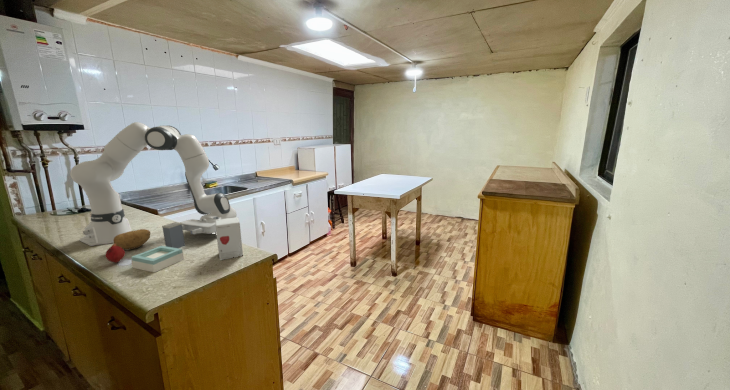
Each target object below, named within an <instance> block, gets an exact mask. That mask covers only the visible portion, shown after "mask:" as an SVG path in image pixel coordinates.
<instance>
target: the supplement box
mask: <svg viewBox="0 0 730 390" xmlns="http://www.w3.org/2000/svg"><path fill="white" fill-rule="evenodd" d="M215 233H216V241H217V250H218V256H219V260H220V261H223V260H228V259H234V258H239V257H238V256H240V257H243V256H244V251H243V243H242V240H243V239H242V234H241V233H242V231H241V223H240V220H239V217H238V216H236V218H227V219H220V220H216V232H215ZM242 255H243V256H242ZM233 257H234V258H233Z"/></svg>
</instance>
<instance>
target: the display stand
mask: <svg viewBox="0 0 730 390" xmlns="http://www.w3.org/2000/svg"><path fill="white" fill-rule="evenodd" d="M183 260H185V259H184V252H183V249H182V248H172V247H166V245H159V246H157V247H154V248H151V249H148V250H145V251H143V252H141V253H138V254H135V255H132V256H131V266H132V268H133V269H137V270H143V271H146V272H150V273H156V272H159V271H161V270H163V269H165V268H167V267H170V266H172V265H175V264H177V263H179V262H180V261H183Z"/></svg>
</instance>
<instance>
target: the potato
mask: <svg viewBox="0 0 730 390" xmlns="http://www.w3.org/2000/svg"><path fill="white" fill-rule="evenodd" d="M150 238H151V231H150V230H149V229H145V228H140V229H136V230H135V229H134V230H131V231H129V232H126V233H122V234H119V235H117V236H116V237H115V238H114V240H113V241H114V243H113V244H116V246H119V247H121V248H123V249H124V250H136V249H137V248H140V247H142V246H143V245H145V244H146V243H147V242H148V240H150Z"/></svg>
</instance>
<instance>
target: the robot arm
mask: <svg viewBox="0 0 730 390" xmlns="http://www.w3.org/2000/svg"><path fill="white" fill-rule="evenodd" d="M147 146H148V147H150V148H152V149H153V150H158V151H173V150H175V152H177V153H178V155H179V158H180V159H181V160H182V161H181V162H183V166H184V169H185V172H184V175H185V176H184V177H185V179H186V183H187V185H188V188H189V191H190V193H191V196H192V200H193V206H194V209H195V211H197V213H199V214H200V215H202V216H200V218H199V219H195V218H192V219H186V220H182V221H179V223H182V229H183V231H187V232H190V234H191V235H197V234H214V233H216V220H220V219H227V218H236V217H238V216H237V211H236V209H235V208H234V207H232V206H231V205H230V201H229V198H228V196H227V195H226V194H224V193H222V192H217V193H212V194H206V193H205V189H204V187H203V184H202V181H201V178H202V175H204V173H205V172H206V171H207V170H208V169H209V167H210V160H209V157H208V155H207V153H206V151H205V150H204V146H203V145H202V144H201V143H200V141H199V140H198V138H197V137H196V136H195V135H193V134H190V133H188V134H182V133H181V132H180V130H179V129H178V128H176V127H175V126H172V125H158V126H153V127H149V126H148V125H147V124H144V123H143V122H140V121H139V122H138V121H137V122H136V121H135V122H132V123H130V124H129V125H127V126H126V127H124V128H123V129H122V130H121V131H119V132H118V133H117V134H116V135H115V136H114V137H113V138H111V139H110V140H109V141H108V143H106V144H105V145H104V148H103V152H102V153H101V155H100V156H99V157H97V158H96V159H93V160H87V161H82V162H80V163H77V164H76V165H74V166H73V167H71V170H70V173H69V175H70V178H71V179H72V181H73V182H74V183H76V184H77V185H79V186H80V187H81V188H82V190H83V191H84V192H85V194H86V197H87V198H88V203H89V206H90V210H91V213H89V216H90V222H89V223H88V224H87V225H86V227H85V228H84V230H82V234H83V236H82V237H80V238H79V241H80V242H81V243H83V244H86V245H88V246H89V247H90V246H91V247H93V246H98V245H99V246H100V245H108V244H114V241H113V240H114V238H115V237H116V236H117V235H119V234H122V233H126V232H129V231H132V228H131V224H130V221H129V219H128V218H127V217H125V216H126V213H125V211H124V210H125V209H123V206H122V201H121V196H120V193H119V192H118V191H116V190H115V189H114V187H113V186H112V183H111V182H112V181H115V180H117V179H119V178H120V177H122V175H124V173H125V172H124V171H125V169H126V168H127V167H128V165H129V164H130V163H131V161H132V160H133V159H134V158H136V157H137V156H138V155H139V153H141V151H143V150H144V148H146V147H147Z"/></svg>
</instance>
